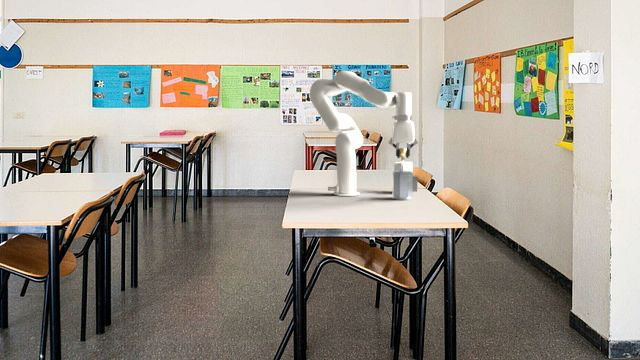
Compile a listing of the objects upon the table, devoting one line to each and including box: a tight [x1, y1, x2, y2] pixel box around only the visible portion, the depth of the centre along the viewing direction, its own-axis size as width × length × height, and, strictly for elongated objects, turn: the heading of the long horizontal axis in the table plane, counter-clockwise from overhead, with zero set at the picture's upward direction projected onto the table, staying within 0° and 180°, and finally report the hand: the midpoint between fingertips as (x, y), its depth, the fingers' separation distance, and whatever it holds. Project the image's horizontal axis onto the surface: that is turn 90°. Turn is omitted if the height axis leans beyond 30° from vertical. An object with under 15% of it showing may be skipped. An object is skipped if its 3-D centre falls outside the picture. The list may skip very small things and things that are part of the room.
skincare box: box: [393, 161, 413, 172], centre depth 318 cm, size 8×7×16 cm
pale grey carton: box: [392, 170, 419, 201], centre depth 299 cm, size 12×9×13 cm
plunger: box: [399, 147, 407, 172], centre depth 298 cm, size 6×6×16 cm
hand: (402, 157), depth 297 cm, fingers closed on plunger, 3 cm apart
